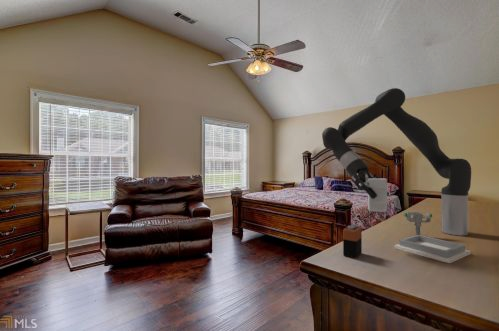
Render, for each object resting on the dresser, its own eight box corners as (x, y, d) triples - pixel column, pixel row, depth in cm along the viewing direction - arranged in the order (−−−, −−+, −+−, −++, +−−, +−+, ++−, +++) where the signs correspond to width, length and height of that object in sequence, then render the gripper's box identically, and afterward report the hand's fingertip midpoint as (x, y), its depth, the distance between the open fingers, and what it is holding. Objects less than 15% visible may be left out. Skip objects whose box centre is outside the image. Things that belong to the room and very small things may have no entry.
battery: (342, 256, 84) (342, 226, 84) (349, 250, 90) (349, 222, 90) (356, 259, 82) (356, 228, 82) (362, 253, 87) (361, 224, 87)
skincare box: (385, 210, 94) (385, 178, 94) (387, 212, 90) (387, 179, 90) (367, 209, 96) (367, 178, 96) (368, 211, 92) (368, 178, 92)
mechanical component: (433, 237, 105) (433, 213, 105) (406, 236, 107) (406, 213, 107) (429, 235, 108) (429, 212, 108) (403, 234, 110) (403, 211, 110)
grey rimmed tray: (416, 241, 101) (416, 233, 101) (470, 253, 86) (470, 245, 86) (394, 247, 92) (394, 239, 92) (449, 263, 78) (449, 253, 78)
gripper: (347, 157, 96) (376, 191, 86) (370, 158, 103) (399, 188, 93) (336, 171, 100) (362, 204, 90) (359, 170, 108) (385, 201, 98)
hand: (381, 196), depth 92 cm, fingers closed on skincare box, 7 cm apart
